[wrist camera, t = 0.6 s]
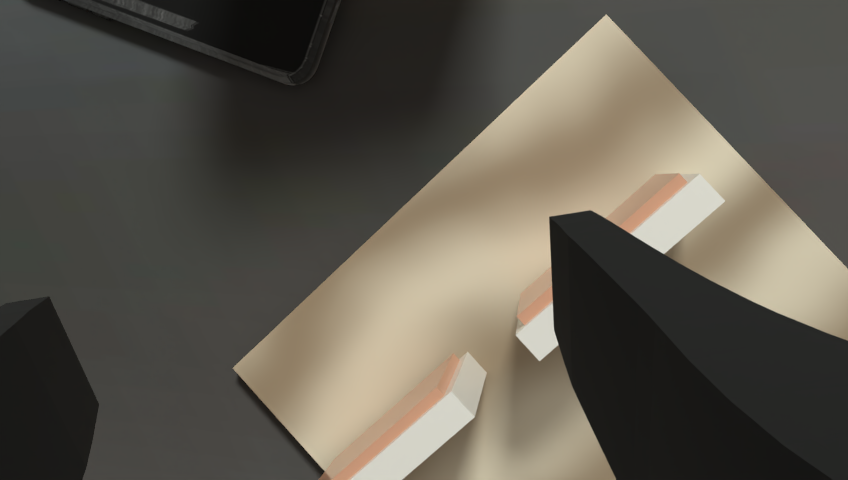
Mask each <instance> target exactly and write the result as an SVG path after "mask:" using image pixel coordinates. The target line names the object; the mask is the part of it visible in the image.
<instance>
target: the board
mask: <svg viewBox="0 0 848 480" xmlns="http://www.w3.org/2000/svg"><path fill="white" fill-rule="evenodd" d="M673 173H679V174H700V175H701V176H702V177H703V178H704V179H705V180H706V181H707V182H708V183H709V184H710V185H711V186H712V187H713V188H714V189H715V191H716V192H717V193H718V194H719V195H720V196H721V197H722V198H723V199H724V200H725V202H724V203H723V204H721V205H720V206H719V207H718V208H717V209H716V210H715V211H713V212H712V213H711V214H710V215H709V216H708V217H706V218H705V219H704V220H703V221H702V222H701V223H699V224H698V225H697V226H696V227H695V228H694V229H692V230H691V231H690V232H689V233H688V234H687V235H686V236H684V237H683V238H682V239H681V240H680V241H679V242H677V243H676V244H675V245H674V246H673V247H672V248H670V249H669V250H668V251H667V252H666V253H665V255H666V256H668V257H670V258H671V259H673V260H675V261H677V262H678V263H680V264H682V265H684V266H685V267H687V268H689V269H691V270H692V271H694V272H696V273H698V274H700V275H702V276H703V277H705V278H707V279H709V280H711V281H713V282H715V283H717V284H719V285H721V286H723V287H725V288H727V289H729V290H731V291H733V292H735V293H737V294H739V295H741V296H743V297H745V298H747V299H749V300H751V301H753V302H755V303H757V304H759V305H761V306H763V307H766V308H768V309H770V310H772V311H775V312H777V313H779V314H782V315H784V316H787V317H789V318H791V319H794V320H796V321H799V322H801V323H804V324H806V325H809V326H811V327H814V328H816V329H818V330H821V331H823V332H826V333H828V334H831V335H834V336H837V337H839V338H842V339H845V340H848V269H847V268H846V267H845V266H844V265H843V264H842V262H841V261H840V260H839V259H838V258H837V257H836V256H835V255H834V254H833V253H832V252H831V251H830V250H829V249H828V248H827V247H826V246H825V245H824V243H823V242H822V241H821V240H820V239H819V238H818V237H817V236H816V235H815V234H814V233H813V232H812V231H811V230H810V229H809V228H808V227H807V226H806V225H805V223H804V222H803V221H802V220H801V219H800V218H799V217H798V216H797V215H796V214H795V213H794V212H793V211H792V210H791V209H790V208H789V207H788V206H787V204H786V203H785V202H784V201H783V200H782V199H781V198H780V197H779V196H778V195H777V194H776V193H775V192H774V191H773V190H772V189H771V188H770V187H769V185H768V184H767V183H766V182H765V181H764V180H763V179H762V178H761V177H760V176H759V175H758V174H757V173H756V172H755V171H754V170H753V169H752V168H751V166H750V165H749V164H748V163H747V162H746V161H745V160H744V159H743V158H742V157H741V156H740V155H739V154H738V153H737V152H736V151H735V150H734V149H733V148H732V146H731V145H730V144H729V143H728V142H727V141H726V140H725V139H724V138H723V137H722V136H721V135H720V134H719V133H718V132H717V131H716V130H715V129H714V127H713V126H712V125H711V124H710V123H709V122H708V121H707V120H706V119H705V118H704V117H703V116H702V115H701V114H700V113H699V112H698V111H697V110H696V108H695V107H694V106H693V105H692V104H691V103H690V102H689V101H688V100H687V99H686V98H685V97H684V96H683V95H682V94H681V93H680V92H679V91H678V89H677V88H676V87H675V86H674V85H673V84H672V83H671V82H670V81H669V80H668V79H667V78H666V77H665V76H664V75H663V74H662V73H661V72H660V71H659V69H658V68H657V67H656V66H655V65H654V64H653V63H652V62H651V61H650V60H649V59H648V58H647V57H646V56H645V55H644V54H643V53H642V52H641V50H640V49H639V48H638V47H637V46H636V45H635V44H634V43H633V42H632V41H631V40H630V39H629V38H628V37H627V36H626V35H625V34H624V33H623V31H622V30H621V29H620V28H619V27H618V26H617V25H616V24H615V23H614V22H613V21H612V20H611V19H610V18H609V17H608V16H607V15H605V16H604V17H603V18H602V19H601V20H600V21H599V22H598V23H597V24H596V25H595V26H594V27H593V28H591V29H590V30H589V31H588V32H587V33H586V34H585V35H584V36H583V37H582V38H581V39H580V40H579V41H578V42H577V43H576V44H575V45H573V46H572V47H571V48H570V49H569V50H568V51H567V52H566V53H565V54H564V55H563V56H562V57H561V58H560V59H559V60H558V61H557V62H556V63H554V64H553V65H552V66H551V67H550V68H549V69H548V70H547V71H546V72H545V73H544V74H543V75H542V76H541V77H540V78H539V79H538V80H537V81H535V82H534V83H533V84H532V85H531V86H530V87H529V88H528V89H527V90H526V91H525V92H524V93H523V94H522V95H521V96H520V97H519V98H518V99H516V100H515V101H514V102H513V103H512V104H511V105H510V106H509V107H508V108H507V109H506V110H505V111H504V112H503V113H502V114H501V115H500V116H498V117H497V118H496V119H495V120H494V121H493V122H492V123H491V124H490V125H489V126H488V127H487V128H486V129H485V130H484V131H483V132H482V133H481V134H479V135H478V136H477V137H476V138H475V139H474V140H473V141H472V142H471V143H470V144H469V145H468V146H467V147H466V148H465V149H464V150H463V151H462V152H460V153H459V154H458V155H457V156H456V157H455V158H454V159H453V160H452V161H451V162H450V163H449V164H448V165H447V166H446V167H445V168H444V169H443V170H441V171H440V172H439V173H438V174H437V175H436V176H435V177H434V178H433V179H432V180H431V181H430V182H429V183H428V184H427V185H426V186H425V187H424V188H422V189H421V190H420V191H419V192H418V193H417V194H416V195H415V196H414V197H413V198H412V199H411V200H410V201H409V202H408V203H407V204H406V205H404V206H403V207H402V208H401V209H400V210H399V211H398V212H397V213H396V214H395V215H394V216H393V217H392V218H391V219H390V220H389V221H388V222H387V223H385V224H384V225H383V226H382V227H381V228H380V229H379V230H378V231H377V232H376V233H375V234H374V235H373V236H372V237H371V238H370V239H369V240H368V241H366V242H365V243H364V244H363V245H362V246H361V247H360V248H359V249H358V250H357V251H356V252H355V253H354V254H353V255H352V256H351V257H350V258H349V259H347V260H346V261H345V262H344V263H343V264H342V265H341V266H340V267H339V268H338V269H337V270H336V271H335V272H334V273H333V274H332V275H331V276H330V277H328V278H327V279H326V280H325V281H324V282H323V283H322V284H321V285H320V286H319V287H318V288H317V289H316V290H315V291H314V292H313V293H312V294H310V295H309V296H308V297H307V298H306V299H305V300H304V301H303V302H302V303H301V304H300V305H299V306H298V307H297V308H296V309H295V310H294V311H293V312H291V313H290V314H289V315H288V316H287V317H286V318H285V319H284V320H283V321H282V322H281V323H280V324H279V325H278V326H277V327H276V328H275V329H274V330H272V331H271V332H270V333H269V334H268V335H267V336H266V337H265V338H264V339H263V340H262V341H261V342H260V343H259V344H258V345H257V346H256V347H255V348H253V349H252V350H251V351H250V352H249V353H248V354H247V355H246V356H245V357H244V358H243V359H242V360H241V361H240V362H239V363H238V364H237V365H235V366H234V367H233V369H234V370H235V371H236V372H237V374H238V375H239V376H240V377H241V378H242V379H243V380H244V381H245V383H246V384H247V385H248V386H249V387H250V388H251V389H252V390H253V392H254V393H255V394H256V395H257V396H258V397H259V398H260V399H261V401H262V402H263V403H264V404H265V405H266V406H267V407H268V408H269V409H270V411H271V412H272V413H273V414H274V415H275V416H276V417H277V418H278V420H279V421H280V422H281V423H282V424H283V425H284V426H285V427H286V429H287V430H288V431H289V432H290V433H291V434H292V435H293V436H294V437H295V439H296V440H297V441H298V442H299V443H300V444H301V445H302V446H303V448H304V449H305V450H306V451H307V452H308V453H309V454H310V455H311V457H312V458H313V459H314V460H315V461H316V462H317V463H318V464H319V466H320V467H321V468H322V469H323V470H324V471H325V470H326V469H327V468H328V466H329V465H330V464H331V462H332V461H333V460H334V458H336V457H337V456H338V455H339V454H340V453H341V452H342V451H344V450H345V449H346V448H347V447H348V446H349V445H350V444H351V443H353V442H354V441H355V440H356V439H357V438H358V437H359V436H360V435H362V434H363V433H364V432H365V431H366V430H367V429H368V428H369V427H371V426H372V425H373V424H374V423H375V422H376V421H377V420H378V419H380V418H381V417H382V416H383V415H384V414H385V413H386V412H387V411H389V410H390V409H391V408H392V407H393V406H394V405H395V404H396V403H398V402H399V401H400V400H401V399H402V398H403V397H404V396H406V395H407V394H408V393H409V392H410V391H411V390H412V389H413V388H415V387H416V386H417V385H418V384H419V383H420V382H421V381H422V380H424V379H425V378H426V377H427V376H428V375H429V374H430V373H431V372H433V371H434V370H435V369H436V368H437V367H438V366H439V365H440V364H442V363H443V362H444V361H445V360H446V359H447V358H448V357H449V356H451V355H452V354H453V353H454V354H455V355H456V356H457V357H458V359H460V358H461V357H462V356H463V355H465V354H466V353H467V352H468V353H469V354H470V355H471V356H472V357H473V358H474V359H475V360H476V361H477V362H478V364H479V365H480V366H481V367H482V368H483V369H484V370H485V371H486V372H487V374H486V378H485V381H484V385H483V389H482V392H481V396H480V400H479V403H478V407H477V411H476V414H475V417H474V418H473V419H472V420H471V421H470V422H468V423H467V424H466V425H465V426H464V427H463V428H462V429H460V430H459V431H458V432H457V433H456V434H455V435H453V436H452V437H451V438H450V439H449V440H448V441H446V442H445V443H444V444H443V445H442V446H441V447H439V448H438V449H437V450H436V451H435V452H434V453H433V454H431V455H430V456H429V457H428V458H427V459H426V460H424V461H423V462H422V463H421V464H420V465H419V466H417V467H416V468H415V469H414V470H413V471H412V472H410V473H409V474H408V475H407V476H406V477H405V478H403V479H402V480H616V478H615V476H614V474H613V472H612V470H611V467H610V465H609V463H608V461H607V459H606V457H605V455H604V453H603V451H602V449H601V447H600V445H599V443H598V440H597V438H596V436H595V434H594V432H593V430H592V428H591V426H590V424H589V422H588V419H587V417H586V415H585V413H584V411H583V409H582V407H581V405H580V402H579V400H578V398H577V396H576V394H575V392H574V389H573V387H572V385H571V382H570V379H569V376H568V373H567V370H566V367H565V364H564V361H563V357H562V354H561V351H560V348H559V345H558V346H557V347H556V348H554V349H553V350H552V351H551V352H550V353H549V354H547V355H546V356H545V357H544V358H543V359H542V360H540V361H539V360H538V359H537V358H536V357H535V356H534V355H533V354H532V353H531V352H530V350H529V349H528V348H527V347H526V346H525V345H524V344H523V343H522V342H521V341H520V340H519V338H518V337H517V336H516V328H517V322H518V318H517V311H518V305H519V299H520V294H521V293H522V292H523V291H524V290H525V289H526V288H527V287H528V286H530V285H531V284H532V283H533V282H534V281H535V280H536V279H537V278H539V277H540V276H541V275H542V274H543V273H544V272H545V271H546V270H548V269H549V268H550V267H551V250H550V227H549V217H551V216H557V215H563V214H570V213H576V212H582V211H588V210H591V211H593V212H595V213H597V214H599V215H601V216H602V217H604V218H606V217H607V216H608V215H610V214H611V213H612V212H613V211H614V210H615V209H616V208H617V207H619V206H620V205H621V204H622V203H623V202H624V201H625V200H626V199H628V198H629V197H630V196H631V195H632V194H633V193H634V192H635V191H637V190H638V189H639V188H640V187H641V186H642V185H643V184H645V183H646V182H647V181H648V180H649V179H650V178H651V177H652V176H654V175H655V174H673Z"/></svg>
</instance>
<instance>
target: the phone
mask: <svg viewBox="0 0 848 480" xmlns="http://www.w3.org/2000/svg"><path fill="white" fill-rule="evenodd" d="M59 1H60V0H59ZM64 1H67V2H69V5H71V6H74V7H77V8H79V9H82V10H85V11H87V12H89V10H91V11H93V14H94V15H97V16H99V17H102V18H105V19H107V20H110V21H111V18H112V19H114V20H117V21H120V22H122V23H125V24H127V25H130V26H133V27H135V28H138V29H141V30H143V31H146V32H149V33H151V34H154V35H156V36H159V37H162V38H164V39H167V40H170V41H172V42H175V43H178V44H180V45H183V46H185V47H188V48H191V49H193V50H196V51H199V52H201V53H204V54H207V55H209V56H212V57H214V58H217V59H220V60H222V61H225V62H228V63H230V64H233V65H236V66H238V67H241V68H243V69H246V70H249V71H251V72H254V73H257V74H259V75H262V76H265V77H267V78H270V79H272V80H275V81H278V82H280V83H283V84H287V85H292V86H294V85H301V84H303V83H305V82H307V81H308V80H309V79H310V78H311V77H312V76H313V75H314V74H315V72H316V70H317V68H318V65H319V62H320V60H321V57H322V54H323V51H324V48H325V45H326V42H327V39H328V37H329V34H330V31H331V28H332V25H333V22H334V19H335V16H336V14H337V11H338V8H339V5H340V2H341V0H64ZM320 52H321V55H320Z"/></svg>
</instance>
